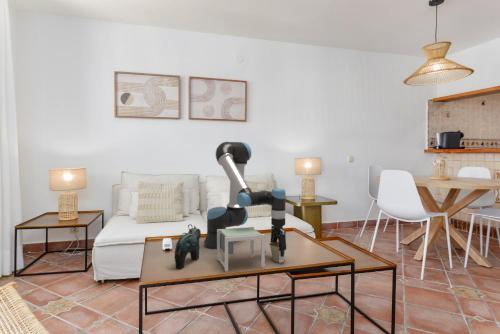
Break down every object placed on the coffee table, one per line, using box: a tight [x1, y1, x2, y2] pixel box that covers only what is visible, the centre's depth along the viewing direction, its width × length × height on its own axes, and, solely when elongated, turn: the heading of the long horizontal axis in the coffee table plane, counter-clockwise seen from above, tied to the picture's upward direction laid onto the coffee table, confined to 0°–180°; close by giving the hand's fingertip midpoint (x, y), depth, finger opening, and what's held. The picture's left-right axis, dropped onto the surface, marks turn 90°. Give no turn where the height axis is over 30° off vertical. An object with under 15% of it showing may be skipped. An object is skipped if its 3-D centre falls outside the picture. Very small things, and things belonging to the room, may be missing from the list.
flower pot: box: [268, 241, 288, 263], centre depth 170 cm, size 9×9×9 cm
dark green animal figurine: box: [174, 223, 202, 270], centre depth 164 cm, size 20×6×20 cm, turn 159°
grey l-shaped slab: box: [220, 227, 261, 255], centre depth 164 cm, size 18×14×9 cm
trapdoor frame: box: [216, 226, 266, 272], centre depth 164 cm, size 20×18×16 cm
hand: (277, 259), depth 170 cm, fingers closed on flower pot, 8 cm apart
